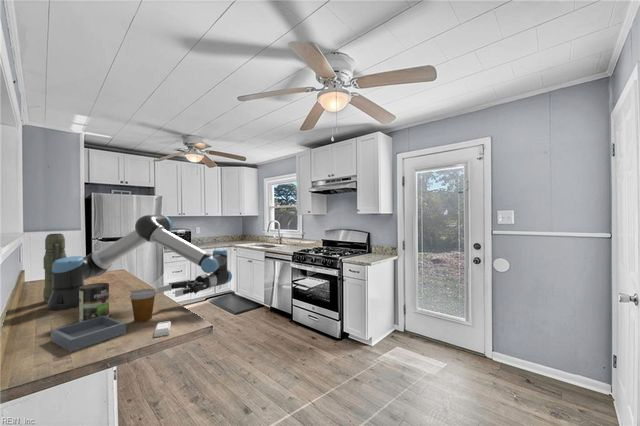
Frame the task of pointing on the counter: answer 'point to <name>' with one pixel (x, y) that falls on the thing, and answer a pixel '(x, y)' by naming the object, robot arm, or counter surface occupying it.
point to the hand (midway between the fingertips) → (166, 292)
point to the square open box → (87, 332)
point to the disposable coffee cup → (142, 304)
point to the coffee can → (93, 301)
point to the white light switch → (162, 329)
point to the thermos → (52, 260)
